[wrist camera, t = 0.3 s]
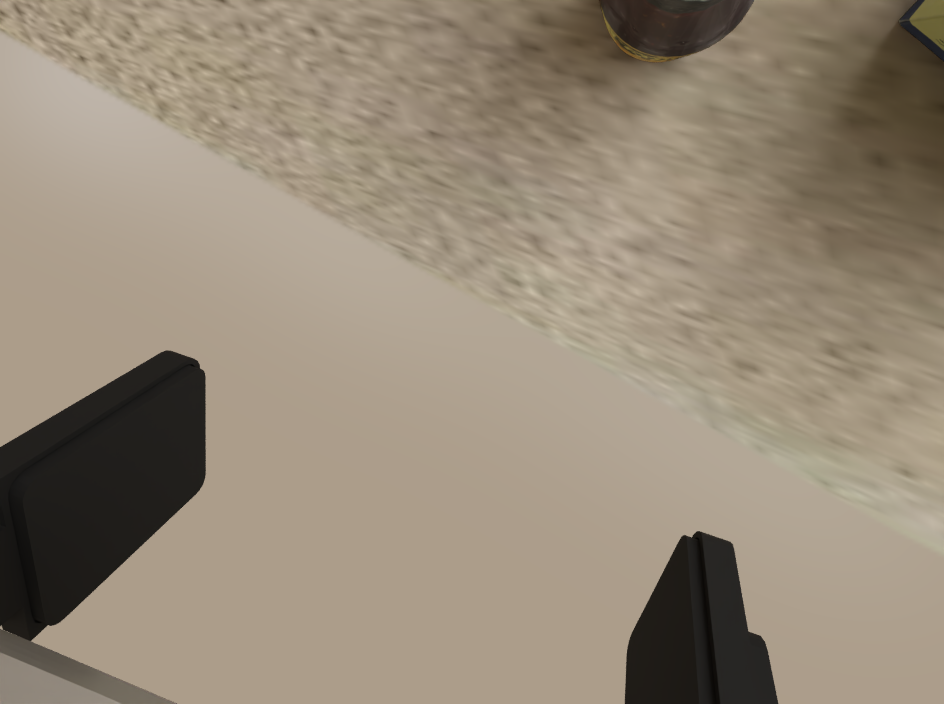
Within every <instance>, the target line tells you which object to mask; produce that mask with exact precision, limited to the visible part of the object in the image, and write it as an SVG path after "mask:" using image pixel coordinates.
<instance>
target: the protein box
mask: <svg viewBox="0 0 944 704" xmlns="http://www.w3.org/2000/svg"><path fill="white" fill-rule="evenodd" d="M899 23H900V25H901V26H902V27H903V28H905V29H906V30H907V31H908V32H910V33H911V34H912V35H913V36H915V37H916V38H917V39H918V40H919V41H921V42H922V43H923V44H924V45H925V46H926V47H928V48H929V49H930V50H931V51H932V52H934V53H935V54H936V55H937V56H938V57H939V58H940V59H942V60H943V61H944V0H918V1H917V2H916V3H915V4H914V5H913V6H912V7H911V8H910V9H909V10H908V11H907V12H906V13H905V15H904V16H903V17H902V18H901V19H900V20H899Z"/></svg>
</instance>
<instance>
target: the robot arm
mask: <svg viewBox="0 0 944 704" xmlns="http://www.w3.org/2000/svg"><path fill="white" fill-rule="evenodd" d="M205 452H206V450H205V373H204V371H203V370H202V369H200V365H199V363H198V361H197V360H195V359H193V358H190V357H187V356H184V355H181V354H178V353H176V352H173V351H164V352H161V353H160V354H158V355H156V356H154V357H153V358H151V359H149V360H148V361H146V362H145V363H143V364H141V365H139V366H137V367H136V368H134V369H132V370H131V371H129V372H128V373H126V374H124V375H122V376H120V377H119V378H117V379H115V380H114V381H112V382H110V383H109V384H107V385H106V386H104V387H102V388H100V389H98V390H97V391H95V392H93V393H92V394H90V395H88V396H86V397H85V398H83V399H82V400H80V401H78V402H76V403H75V404H73V405H71V406H69V407H68V408H66V409H64V410H63V411H61V412H59V413H58V414H56V415H54V416H52V417H51V418H49V419H48V420H46V421H44V422H42V423H41V424H39V425H37V426H36V427H34V428H32V429H30V430H29V431H27V432H25V433H24V434H22V435H20V436H19V437H17V438H15V439H13V440H12V441H10V442H8V443H7V444H5V445H3V446H2V447H0V626H1V625H2V628H3V630H1V629H0V704H177V703H174V702H172V701H170V700H167V699H165V698H163V697H160V696H158V695H156V694H153V693H151V692H149V691H146V690H144V689H142V688H139V687H137V686H134V685H132V684H130V683H127V682H125V681H123V680H120V679H118V678H116V677H113V676H111V675H109V674H106V673H104V672H101V671H99V670H97V669H94V668H92V667H90V666H87V665H85V664H83V663H80V662H78V661H75V660H73V659H71V658H68V657H66V656H64V655H61V654H59V653H57V652H54V651H52V650H50V649H47V648H45V647H42V646H40V645H38V644H35V643H33V642H31V640H32V639H33V638H35V637H36V636H37V635H38V634H39V633H40V632H41V631H42V630H43V629H44V628H45V627H46V626H47V625H50V626H52V625H56V624H57V623H59V622H61V621H62V620H63V619H64V618H65V617H66V616H67V615H69V614H70V612H72V611H73V610H74V609H75V608H76V607H77V606H78V605H79V604H80V603H81V602H82V601H83V600H84V599H85V598H86V597H88V595H90V594H91V593H92V592H93V591H94V590H95V589H96V588H97V587H98V586H99V585H100V584H101V583H102V582H103V581H105V580H106V579H107V578H108V577H109V576H110V575H111V574H112V573H113V572H114V571H115V570H116V569H117V568H118V567H119V566H120V565H121V564H123V563H124V562H125V561H126V560H127V559H128V558H129V557H130V556H131V555H132V554H133V553H134V552H135V551H136V550H137V549H138V548H139V547H140V546H142V545H143V544H144V542H146V541H147V540H148V539H149V538H150V537H151V536H152V535H153V534H154V533H155V532H156V531H157V530H159V529H160V528H161V527H162V526H163V525H164V524H165V523H166V522H167V521H168V520H169V519H170V518H171V517H172V516H173V515H174V514H175V513H176V512H177V511H179V510H180V509H181V508H182V507H183V506H184V505H185V504H186V503H187V502H188V501H189V500H190V499H191V498H192V497H193V496H194V495H196V494H197V492H198V491H199V490H200V488H201V487H202V485H203V483H204V479H205V471H206V467H205V466H206V465H205V464H206V463H205V461H206V460H205V459H206V456H205V455H206V453H205ZM4 630H5V631H4ZM6 631H8V632H6ZM9 632H10V633H9ZM11 633H12V634H11ZM14 634H15V635H14ZM16 635H17V636H16ZM21 637H22V638H21ZM625 704H778V700H777V696H776V691H775V685H774V680H773V675H772V671H771V665H770V660H769V655H768V651H767V647H766V644H765V641H764V640H763V639H762V637H761V636H759V635H756V634H754V633H750V632H748V627H747V622H746V616H745V610H744V604H743V598H742V593H741V587H740V581H739V575H738V570H737V564H736V558H735V552H734V548H733V544H732V543H731V542H729V541H726V540H723V539H720V538H717V537H715V536H712V535H709V534H706V533H703V532H700V531H697V532H696V533H695V534H694V535H693V537H692V538H691V537H688V536H686V535H684V536H682V537H681V539H680V540H679V542H678V544H677V546H676V548H675V550H674V552H673V554H672V556H671V558H670V560H669V562H668V564H667V566H666V568H665V569H664V571H663V573H662V575H661V577H660V579H659V581H658V583H657V585H656V587H655V589H654V591H653V593H652V595H651V597H650V599H649V601H648V603H647V605H646V607H645V609H644V611H643V613H642V614H641V617H640V618H639V620H638V622H637V624H636V626H635V628H634V630H633V632H632V634H631V637H630V640H629V644H628V649H627V662H626V688H625Z"/></svg>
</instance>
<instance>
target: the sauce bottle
mask: <svg viewBox="0 0 944 704" xmlns="http://www.w3.org/2000/svg"><path fill="white" fill-rule="evenodd" d="M599 1H600V6H601V9H602V13H603V16H604V20H605V23H606V26H607V29H608V31H609V33H610V35H611V37H612V38H613V40H614V41H615V43H616V44H617V45H618V46H619V48H620V49H621V50H622V51H624V52H625V53H627V54H628V55H630V56H632V57H634V58H636V59H639V60H643V61H648V62H665V61H670V60H674V59H678V58H681V57H684V56H688V55H691V54H694V53H697V52H699V51H702V50H704V49H706V48H708V47H710V46H712V45H714V44H715V43H717V42H718V41H720V40H721V39H723V38H724V37H725V36H726V35H728V34H729V33H730V32H731V31H732V30H733V29H734V28H735V27H736V26H737V25H738V24H739V23H740V22H741V21H742V19H743V18H744V16H745V15H746V13H747V12H748V10H749V9H750V7H751V5H752V4H753V2H754V0H599Z"/></svg>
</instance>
